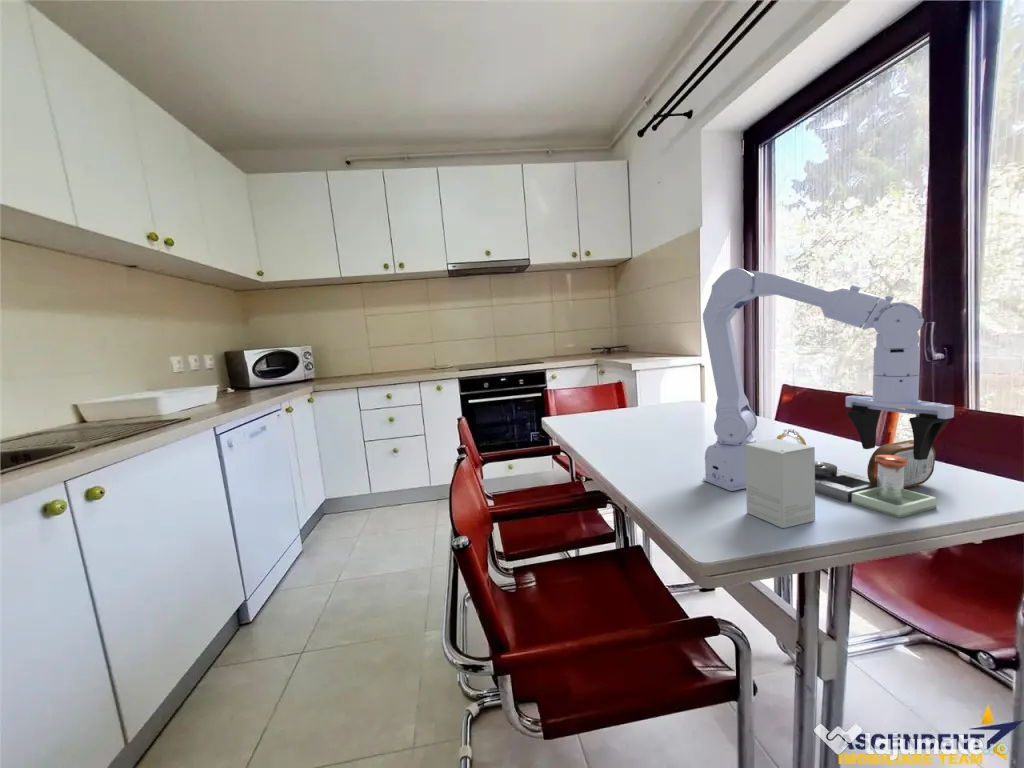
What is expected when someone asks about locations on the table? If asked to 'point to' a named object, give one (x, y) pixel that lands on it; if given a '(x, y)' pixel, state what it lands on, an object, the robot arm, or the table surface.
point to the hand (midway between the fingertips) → (893, 453)
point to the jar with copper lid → (890, 478)
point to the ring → (792, 434)
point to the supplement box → (780, 482)
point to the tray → (910, 506)
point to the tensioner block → (839, 482)
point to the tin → (913, 472)
